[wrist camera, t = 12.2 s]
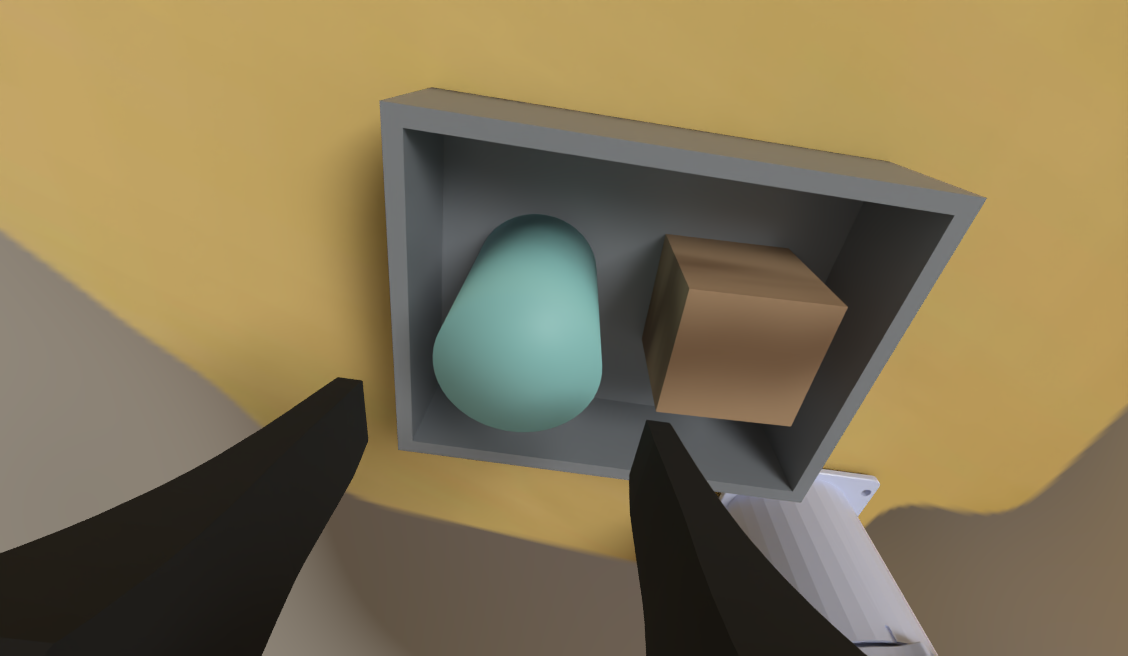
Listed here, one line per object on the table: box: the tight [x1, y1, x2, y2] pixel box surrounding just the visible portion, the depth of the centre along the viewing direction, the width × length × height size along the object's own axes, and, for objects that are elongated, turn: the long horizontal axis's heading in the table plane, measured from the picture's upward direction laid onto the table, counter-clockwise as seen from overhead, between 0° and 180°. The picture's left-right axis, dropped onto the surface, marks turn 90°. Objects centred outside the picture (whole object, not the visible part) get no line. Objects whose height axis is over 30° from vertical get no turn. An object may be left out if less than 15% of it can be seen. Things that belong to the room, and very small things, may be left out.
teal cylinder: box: [433, 214, 602, 432], centre depth 17 cm, size 5×5×7 cm
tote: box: [380, 87, 987, 503], centre depth 19 cm, size 13×17×5 cm
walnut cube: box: [642, 234, 848, 427], centre depth 18 cm, size 5×5×5 cm
